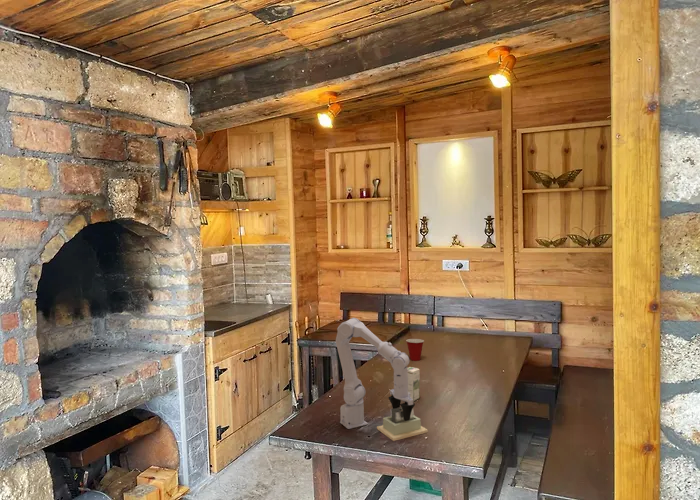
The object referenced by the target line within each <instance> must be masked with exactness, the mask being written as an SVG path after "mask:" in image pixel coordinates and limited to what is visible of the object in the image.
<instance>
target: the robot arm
mask: <svg viewBox="0 0 700 500" xmlns="http://www.w3.org/2000/svg"><path fill="white" fill-rule="evenodd" d="M336 331H337V332H336V337H335V345H336V348H337V349H336V350H337V352H338V357H339V361H340V365H341V369H342V374H343V377H344V385H343V400H344V402H345V403H344V404H342V405H340V407H339V408H340V410H339V411H340V421H339V423H340V424H341V425H343V426H344V427H345V428H346V429H348V430H349V429H350V430H351V429H354V428H358V427H362V426H368V424H369V423H368V422H367V421H365V413H364V411H365V409H364V405H365V404H364V397H365V396H366V393H367V392H366V388H365V387H364V385H363V384H362V380H361V379H359V377H358V375H357V369H356V366H355V362H354V357H353V354H352V350H351V345H350V341H351V340H352V338H362V339H364V340H365V341H366V342H368V343H369V344H370V345H372V346H374V348H376V349H377V353H378V354H379V355H380V356H381V357H382V358H384V359H385V360H387V361H388V362H389V363H390V366H391V368H392V369H393V388H392V389H389V395H390V396H388V400H389V402H390V404H391V407H392V409H393V408H397V407H402V410H403V417H404V420H405V421H407V420H409V419H410V415H411V412H412V409H414V407H415V402H413V399H411V397H410V395H411V394H410V393H409V392H408V368H409V366H408V365H409V364H410V356H408V354H407V353H406V352H403V351H402V352H401V350H398V349H397V348H396V347H394V346H393V343H391V342H390V341H389V342H388V341H382V340H381V339H380V338H379V337H378V336H377V335H376V334H374V333H373V332H372V331H371V330H370V329H369V328H368V327H367V326H366V325H365V324H364V322H362V321H360V320H359V319H358V318H357V317H351V318H350V319H347V320H346V321H343V322H341V323H340V324H339V325H338V327H337V329H336ZM402 401H403V403H402Z"/></svg>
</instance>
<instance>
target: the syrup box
mask: <svg viewBox="0 0 700 500" xmlns="http://www.w3.org/2000/svg"><path fill="white" fill-rule="evenodd" d="M420 372H421V371H420V369H419V368H418V367H413V366H408V392H409V393H410V394H411V395H410V397H411V399H413V403H415V401H417V400H419V399H420V396H421V395H420V393H421V392H420V391H421V390H420V388H421V384H420V382H421V381H420V380H421V377H420V375H421V374H420Z"/></svg>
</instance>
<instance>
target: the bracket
mask: <svg viewBox="0 0 700 500" xmlns="http://www.w3.org/2000/svg"><path fill="white" fill-rule="evenodd" d="M414 415H415V413H414V408H413V409H412V412H411V415H410V419H409V420H407V421H410V420H414ZM390 416H391V421H392V422H393V423H395V424H397V423H401V422H406V421H405V420H404V417H403V410H402V407H401V406H400V407H397V408H393V407H392V408H390Z"/></svg>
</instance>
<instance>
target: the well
mask: <svg viewBox="0 0 700 500" xmlns="http://www.w3.org/2000/svg"><path fill="white" fill-rule="evenodd" d="M376 430H378V431H379V432H381V433H382V434H383V435H385V436H386V438H388V439H390V440H391V441H393V442H395V441H399V440H402V439H408V438H412V437H415V436H420V435H423V434H426V433H428V432H429V431H428V429H427V428H426V427H424V426H422V419H421V418H420V417H418V416H416V415H415V414H414V420H410V421H406V422H401V423H397V424H395V423H393V422H392V421H391V415H390V416H386V417H383V418H382V425H378V426H376Z"/></svg>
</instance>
